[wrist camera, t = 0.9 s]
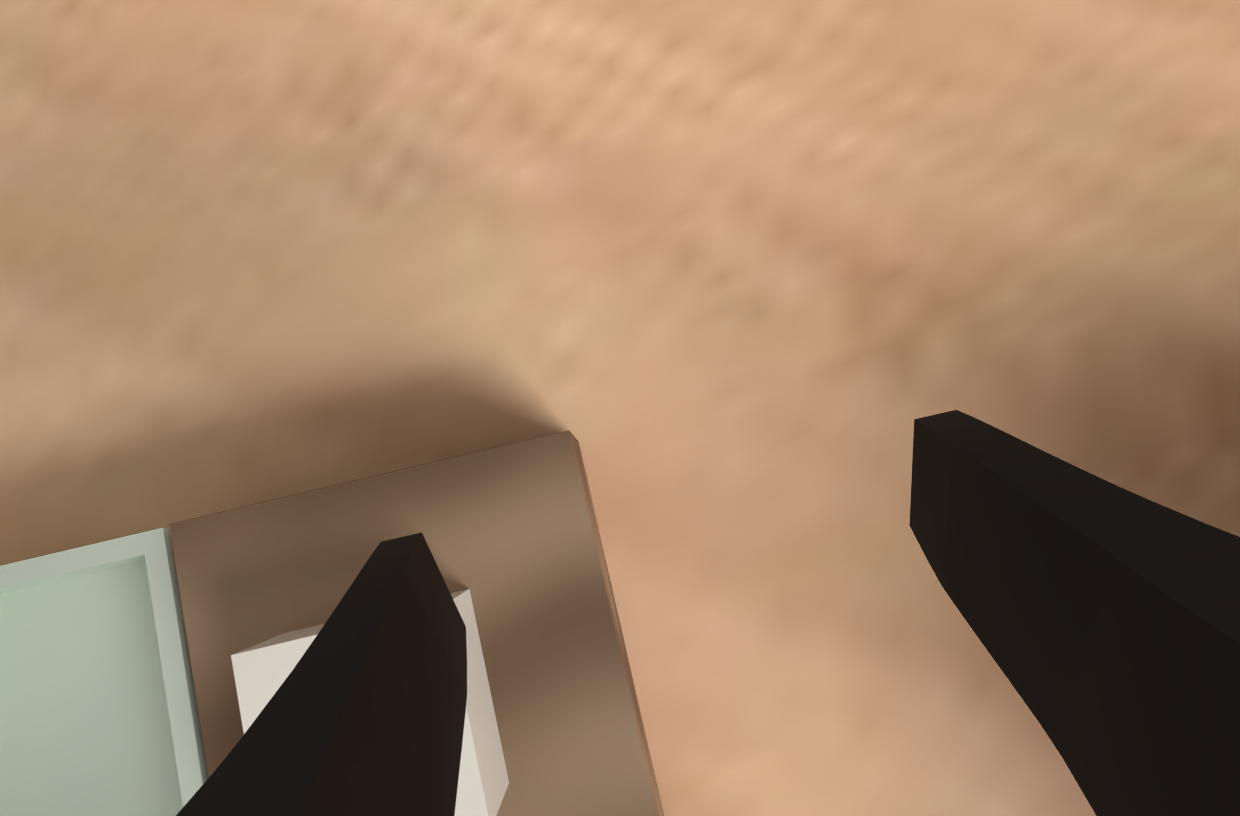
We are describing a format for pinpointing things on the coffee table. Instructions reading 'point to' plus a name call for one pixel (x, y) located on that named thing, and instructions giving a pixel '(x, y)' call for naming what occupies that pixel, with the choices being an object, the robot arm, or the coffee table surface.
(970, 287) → the coffee table surface
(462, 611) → the cream block
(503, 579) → the brown flat block
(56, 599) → the sage box
